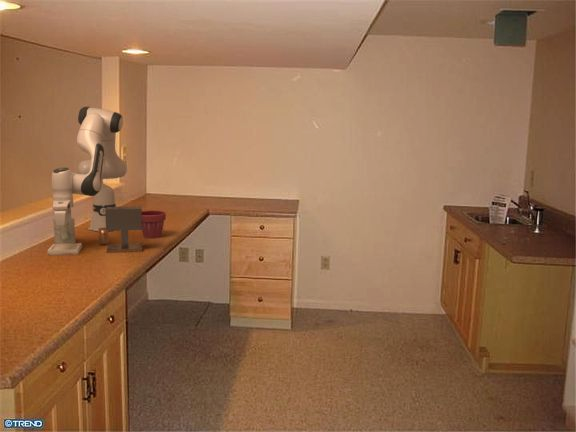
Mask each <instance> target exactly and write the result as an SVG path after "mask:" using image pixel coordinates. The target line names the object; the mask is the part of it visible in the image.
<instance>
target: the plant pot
mask: <svg viewBox="0 0 576 432" xmlns="http://www.w3.org/2000/svg"><path fill="white" fill-rule="evenodd" d="M166 219H167V216H166V211H163V210H143V211H142V230H141V232H142V235H143V238H145V239H158V238H161V237H162V233H163V230H164V223H165V221H166Z"/></svg>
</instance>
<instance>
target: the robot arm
mask: <svg viewBox="0 0 576 432" xmlns="http://www.w3.org/2000/svg"><path fill="white" fill-rule="evenodd" d="M77 121H78V123H79V125H80V127H79V130H78V133H77V136H76V144H77V146H78V147H79V149H80V150H82V151H83V152H85V153H86V154H88V155H90V159H85V160H84V159H83V160H82V161H80V162H79V164H78V166H77V172H78V173H76V172H73V171H72V170H71V169H70V168H69V167H57V168H55V169H54V170H53V171H52V173H51V190H52V211H53V213H54V218H55V222H56V226H57V227H60V228H61V234H62V235H63V234H66V229H65V227H66V224H67V223H68V222H69V221H70V220H71V218H72V208H74V195H81V196H88V197H93V204H92V211H93V212H92V213H91V214H90V226H88V227H87V230H88V231H94V232H98V229H99V228H106V218H105V209H106V207H117V205H116V202H115V199H116V198H115V197H116V196H115V190H114V188H113V187H111V186H109V185H107V184H105V183H104V181H103V180H109V179H110V180H111V179H118V178H119V179H120V178H123V177H125V176H126V174H127V172H128V167H127V163H126V162H125V161H124V160H123V159H122V158H121V157H120V156H119V155H118V154H117V151H116V138H117V137H116V136H117V135H116V133H119V132H121V130H122V128H123V126H124V117H123V115H122V114H120V113H119V112H117V111H111V110H109V109H105V108H98V107H91V106H83V107H81V108H80V109H79V111H78V114H77Z"/></svg>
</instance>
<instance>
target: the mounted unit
mask: <svg viewBox="0 0 576 432" xmlns="http://www.w3.org/2000/svg"><path fill="white" fill-rule="evenodd" d="M142 210H143V207H142V206H141V205H138V206H137V205H134V206H133V205H132V206H129V205H127V206H116V207H106V209H105V218H106V231H108V232H112V231H113V232H114V231H116V232H117V231H120V236H121V238H120V239H121V243H109V244H108V245H107V248H106V254H108V253H109V254H115V253H139V252H140V253H141V251H142V252H143V250H142V249H144V243H143V242H129V231H142Z"/></svg>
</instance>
